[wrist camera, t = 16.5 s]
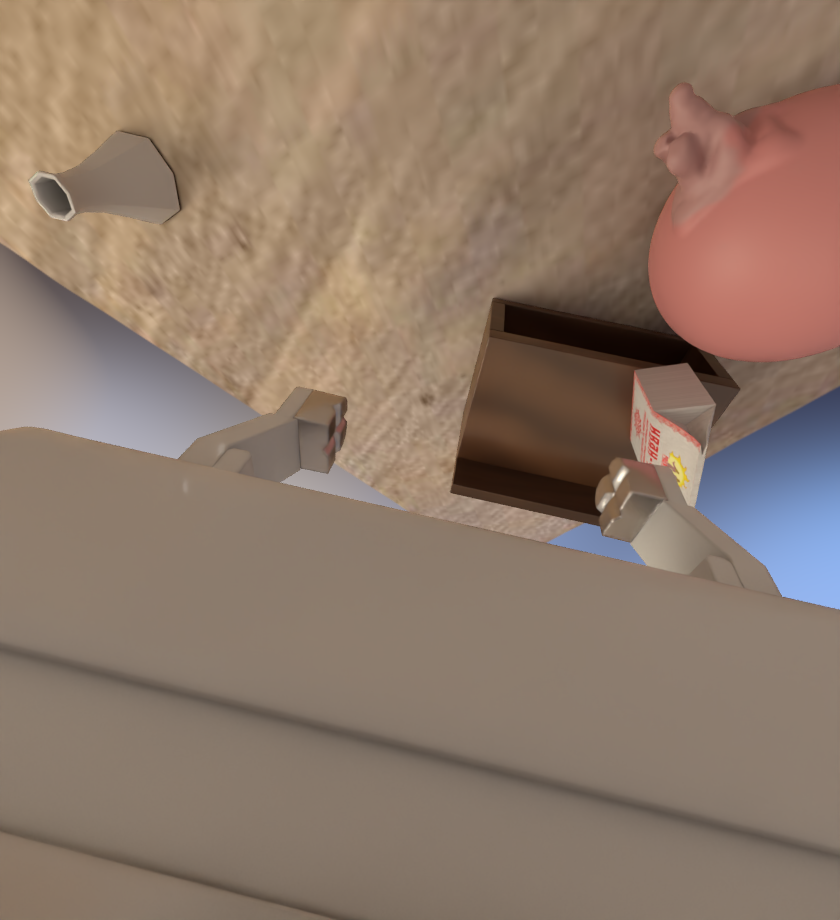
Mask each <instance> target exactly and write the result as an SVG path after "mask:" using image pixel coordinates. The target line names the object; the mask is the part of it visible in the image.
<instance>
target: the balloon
mask: <svg viewBox="0 0 840 920" xmlns="http://www.w3.org/2000/svg"><path fill="white" fill-rule="evenodd" d="M669 105H670V109H669V115H670V121H671V128H670V130H668V131H667V132H666V133H665V134H663V135H662V136H661V137H660V138H659V139H658V140H657V142H656V143H655V146H654V154H655V156H656V157H658V158H659V159H662V160H663V162H664V163H665V164H666V165H667V167H668V170H669V171H670V172H671V173H672V174H673V175H675V176H676V178H677V180H678V184H677V185H676V187H675V188H674V190H673V191H672V193H671V194H670V196H669V198H668V200H667V201H666V203H665V205H664V207H663V209H662V211H661V214H660V216H659V218H658V221H657V223H656V226H655V229H654V232H653V236H652V240H651V245H650V251H649V260H648V273H649V282H650V288H651V292H652V295H653V298H654V301H655V303H656V306H657V308H658V310H659V312H660V313H661V315H662V317H663V318H664V320H665V321H666V322H667V324H668V325H669V326H670V327H671V328H672V329H673V330H674V331H675V332H676V333H677V334H678V335H679V336H680V337H681V338H683V339H684V340H685V341H687V342H688V343H690V344H692V345H693V346H695V347H697V348H699V349H701V350H703V351H705V352H708V353H710V354H713V355H716V356H719V357H723V358H727V359H732V360H739V361H748V362H774V361H784V360H791V359H797V358H802V357H806V356H810V355H814V354H818V353H821V352H824V351H827V350H830V349H833V348H836V347H838V346H840V84H837V85H831V86H826V87H821V88H817V89H813V90H810V91H807V92H803V93H800V94H797V95H795V96H792V97H789V98H787V99H784V100H782V101H780V102H776V103H771V104H768V105H764V106H760V107H755V108H751V109H748V110H745V111H743V112H741V113H739V114H737V115H735V116H734V117H733V116H732V115H730V114H728V113H724V112H719V111H717V110H715V109H714V108H713V107H712V106H711V105H709V104H708V103H707V102H706V101H705V100H704V99H703V98H701V97H700V96H697V95H695V94H694V91H693V87H692V85H691V84H689V83H680V84H678V85H677V86H676V87H675V88H674V89H673V91H672V92H671V94H670V96H669Z"/></svg>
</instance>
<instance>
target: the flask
mask: <svg viewBox="0 0 840 920" xmlns="http://www.w3.org/2000/svg"><path fill="white" fill-rule="evenodd" d="M29 183H30V186H31V188H32V191H33V194H34V196H35V199H36V201H37V202H38V203H39V204H40V205H41V207H42V208H43V209H44V210H45V211H46V212H47V213H48V215H49V216H50V217H51V218H55V219H60V220H64V221H70V220H71V219H72V218H73V217H74V216H76V215H77V214H79V213H84V212H104V213H109V214H114V215H120V216H125V217H130V218H134V219H138V220H142V221H147V222H151V223H156V224H162V223H164V222H165V221H166V220H168V219H169V218H170V217H171V216H173V215H174V214H175V213H177V212H178V211H179V210H180V207H179V202H178V197H177V191H176V186H175V180H174V175H173V173H172V171H171V170H170V168H169V167H168V166H167V164H166V163H165V161H164V160H163V158H162V157H161V155H160V154H159V153H158V151H157V150H156V148H155V147H154V145H153V144H152V143H151V141H150V140H149V138H146V137H141V136H137V135H133V134H128V133H124V132H119V131H116V132H115V133H114V134H113V135H111V136H110V137H109V138H108V139H107V140H106V141H105V142H104V143H103V144H102V145H101V146H100V147H99V148H98V149H97V150H96V151H95V152H94V153H93V154H91V155H90V156H89V157H88V158H87V159H85V160H84V161H83V162H82V163H81V164H80V165H78V166H76V167H74V168H72V169H70V170H67V171H65V172H63V173H58V174H52V173H48V172H44V171H37V172H36V173H35V174H34V175H33V176H32V177H31V179H30V180H29Z"/></svg>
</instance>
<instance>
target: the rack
mask: <svg viewBox="0 0 840 920" xmlns="http://www.w3.org/2000/svg"><path fill="white" fill-rule="evenodd" d="M683 363H688V365H689V366H690V367H691V369H692V370H693V372H694V373H695V375H696V376H697V378H698V379H699V380H700V382H701V383H702V385H703V386H704V388H705V389H706V391H707V392H708V393H709V395H710V396H711V398H712V399H713V401H714V402H715V404H716V406H715V411H714V416H713V421H712V426H711V428H712V427H713V425H714V424H715V423H716V421H717V420H718V419H719V417H720V416H721V415H722V413H723V412H724V411H725V409H726V408H727V407H728V405H729V404H730V403H731V401H732V400H733V399H734V397H735V396H736V395H737V393H738V392H739V391H740V388H739V386H738V385H737V384H736V383H735V381H734V380H733V379H732V377H731V376H730V375H729V374H728V373H727V371H726V370H725V369H724V368H723V366H722V365H721V364H720V363H719V362H718V360H717V359H716V358H715V357H714V355H713V354H710V353H708V352H705V351H703V350H701V349H699V348H697V347H695V346H693V345H692V344H690V343H688V342H687V341H685V340H684V339H683V338H681V337H680V336H675V335H670V334H666V333H661V332H656V331H651V330H646V329H641V328H636V327H632V326H627V325H622V324H617V323H612V322H607V321H602V320H598V319H593V318H588V317H583V316H578V315H573V314H568V313H564V312H559V311H554V310H549V309H544V308H539V307H534V306H530V305H525V304H520V303H515V302H510V301H505V300H500V299H496V298H493V300H492V304H491V308H490V311H489V315H488V319H487V323H486V327H485V331H484V335H483V339H482V343H481V347H480V351H479V355H478V358H477V362H476V366H475V370H474V374H473V378H472V382H471V386H470V390H469V394H468V398H467V402H466V405H465V409H464V413H463V418H462V424H461V430H460V436H459V442H458V448H457V454H456V461H455V467H454V473H453V479H452V485H451V491H450V493H453V494H458V495H462V496H467V497H471V498H476V499H480V500H485V501H489V502H494V503H498V504H502V505H507V506H511V507H516V508H520V509H525V510H529V511H534V512H538V513H543V514H547V515H552V516H556V517H561V518H565V519H570V520H574V521H579V522H583V523H588V524H592V525H597V526H600V524H599V519H598V518H599V517H600V515H601V514H602V513H601V512H600V511H599V510H598V509H597V508H596V504H595V493H596V489H597V486H598V484H599V482H600V480H601V478H603V477H605V476H606V475H608V474H610V472H609V468H608V467H609V465H610V463H611V462H612V460H613V459H614V458H616V457H619V458H624V459H629V460H634V461H638V460H637V457H636V454H635V451H634V449H633V446H632V443H631V440H630V429H631V414H632V398H633V383H634V370H638V369H646V368H653V367H661V366H668V365H676V364H683Z"/></svg>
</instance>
